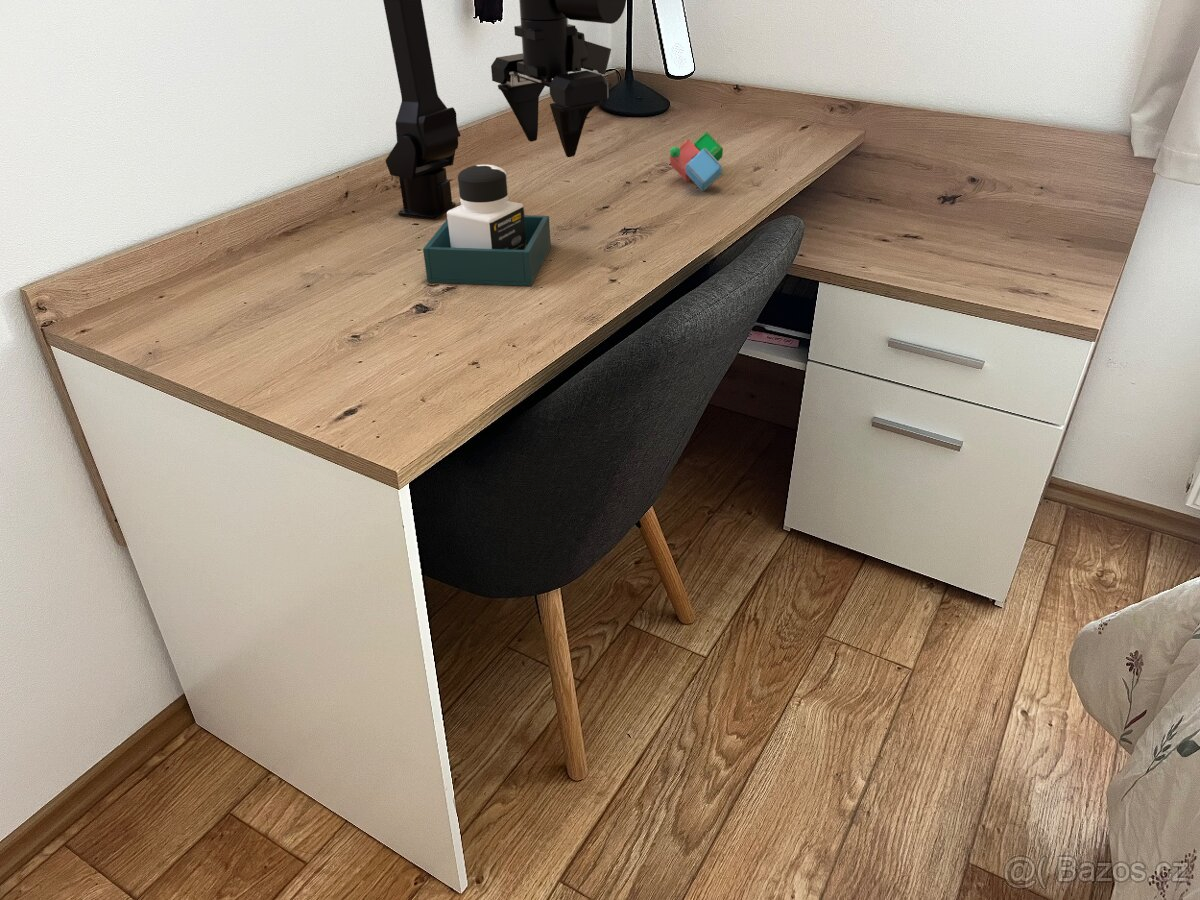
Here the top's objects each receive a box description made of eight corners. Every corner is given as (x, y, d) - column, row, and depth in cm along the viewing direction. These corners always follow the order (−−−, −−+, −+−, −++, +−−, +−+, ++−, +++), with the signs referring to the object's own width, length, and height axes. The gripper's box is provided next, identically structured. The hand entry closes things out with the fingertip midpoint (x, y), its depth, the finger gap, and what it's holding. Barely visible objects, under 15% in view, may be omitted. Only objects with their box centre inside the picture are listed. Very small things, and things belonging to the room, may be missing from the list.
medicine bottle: (495, 275, 119) (486, 180, 112) (451, 264, 122) (440, 172, 115) (528, 256, 124) (521, 165, 117) (485, 246, 127) (476, 157, 120)
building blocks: (703, 206, 153) (702, 183, 141) (669, 171, 154) (666, 145, 142) (739, 173, 153) (741, 147, 141) (705, 138, 154) (705, 109, 142)
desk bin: (427, 282, 119) (422, 248, 116) (455, 244, 129) (451, 213, 127) (531, 286, 117) (528, 251, 114) (550, 247, 127) (549, 215, 125)
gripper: (644, 18, 110) (644, 153, 118) (559, 1, 123) (564, 123, 131) (564, 30, 105) (570, 170, 113) (484, 10, 118) (495, 137, 126)
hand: (551, 148), depth 121 cm, fingers open, 9 cm apart
